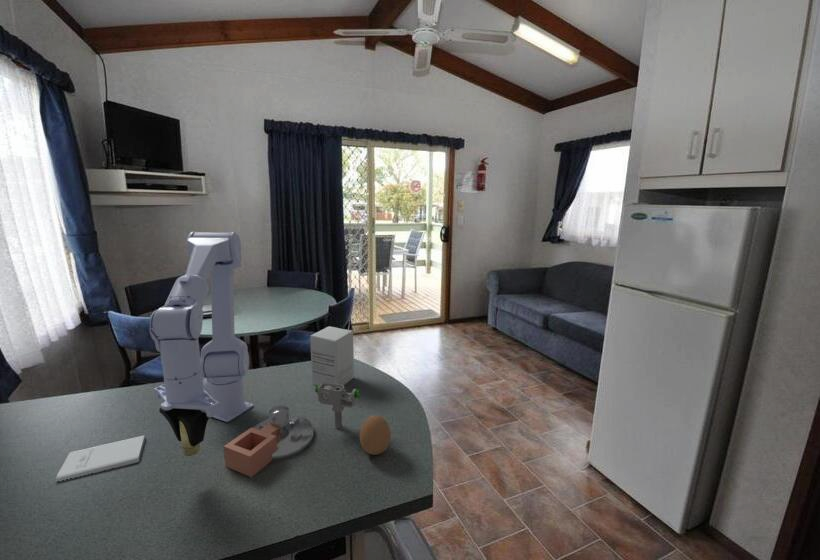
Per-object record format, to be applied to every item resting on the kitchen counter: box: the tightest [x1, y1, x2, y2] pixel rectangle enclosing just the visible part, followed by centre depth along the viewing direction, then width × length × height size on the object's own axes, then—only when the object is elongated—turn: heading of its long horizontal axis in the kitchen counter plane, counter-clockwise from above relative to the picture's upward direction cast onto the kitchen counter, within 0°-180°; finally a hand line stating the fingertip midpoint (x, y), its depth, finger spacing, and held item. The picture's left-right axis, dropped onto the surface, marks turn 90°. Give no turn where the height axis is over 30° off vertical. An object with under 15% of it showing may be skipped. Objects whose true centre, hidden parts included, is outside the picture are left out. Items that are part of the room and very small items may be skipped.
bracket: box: [223, 423, 281, 478], centre depth 75 cm, size 7×10×4 cm
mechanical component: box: [314, 383, 361, 430], centre depth 85 cm, size 3×10×10 cm, turn 78°
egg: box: [359, 414, 392, 456], centre depth 77 cm, size 6×6×8 cm
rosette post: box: [252, 404, 314, 461], centre depth 81 cm, size 14×14×7 cm
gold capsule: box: [179, 419, 201, 457], centre depth 67 cm, size 3×3×7 cm
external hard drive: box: [55, 434, 147, 483], centre depth 74 cm, size 2×8×12 cm
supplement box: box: [309, 326, 355, 387], centre depth 106 cm, size 9×9×15 cm
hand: (190, 440), depth 68 cm, fingers closed on gold capsule, 3 cm apart
